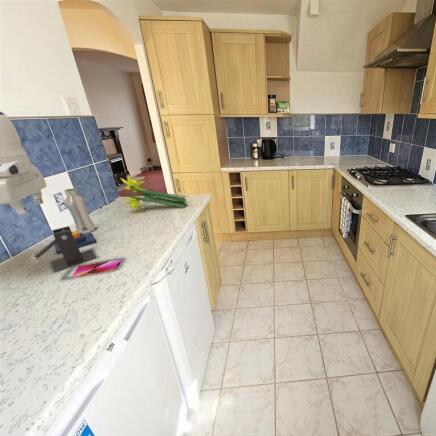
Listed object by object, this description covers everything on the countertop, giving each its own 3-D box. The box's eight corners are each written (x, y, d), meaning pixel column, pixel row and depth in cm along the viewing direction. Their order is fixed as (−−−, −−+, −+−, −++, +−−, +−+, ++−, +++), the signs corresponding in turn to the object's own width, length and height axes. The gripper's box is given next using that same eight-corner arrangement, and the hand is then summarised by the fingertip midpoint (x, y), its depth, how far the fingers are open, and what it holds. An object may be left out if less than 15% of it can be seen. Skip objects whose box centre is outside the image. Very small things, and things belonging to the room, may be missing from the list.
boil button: (67, 242, 93) (64, 237, 92) (65, 238, 96) (63, 233, 95) (81, 237, 96) (79, 233, 95) (79, 234, 98) (78, 230, 98)
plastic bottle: (87, 236, 105) (69, 192, 97) (74, 235, 106) (55, 191, 98) (100, 230, 110) (84, 187, 102) (87, 229, 111) (70, 187, 103)
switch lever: (37, 264, 77) (28, 260, 75) (36, 259, 80) (28, 255, 79) (71, 236, 81) (64, 231, 80) (69, 231, 85) (62, 227, 83)
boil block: (58, 256, 90) (54, 247, 88) (56, 247, 96) (52, 238, 95) (97, 244, 98) (94, 235, 96) (93, 237, 104) (89, 228, 103)
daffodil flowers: (179, 215, 127) (105, 202, 120) (185, 219, 141) (119, 207, 134) (186, 184, 130) (114, 170, 123) (191, 191, 144) (127, 179, 138)
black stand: (56, 274, 80) (39, 240, 74) (54, 264, 85) (38, 231, 80) (97, 260, 87) (84, 228, 82) (92, 251, 92) (80, 221, 87)
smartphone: (73, 266, 82) (124, 258, 86) (75, 269, 82) (124, 260, 86) (62, 279, 75) (116, 269, 79) (63, 282, 76) (117, 272, 79)
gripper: (18, 161, 81) (37, 200, 87) (-29, 174, 64) (-2, 221, 69) (42, 159, 83) (58, 198, 89) (2, 171, 66) (26, 218, 71)
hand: (31, 208), depth 79 cm, fingers open, 8 cm apart
